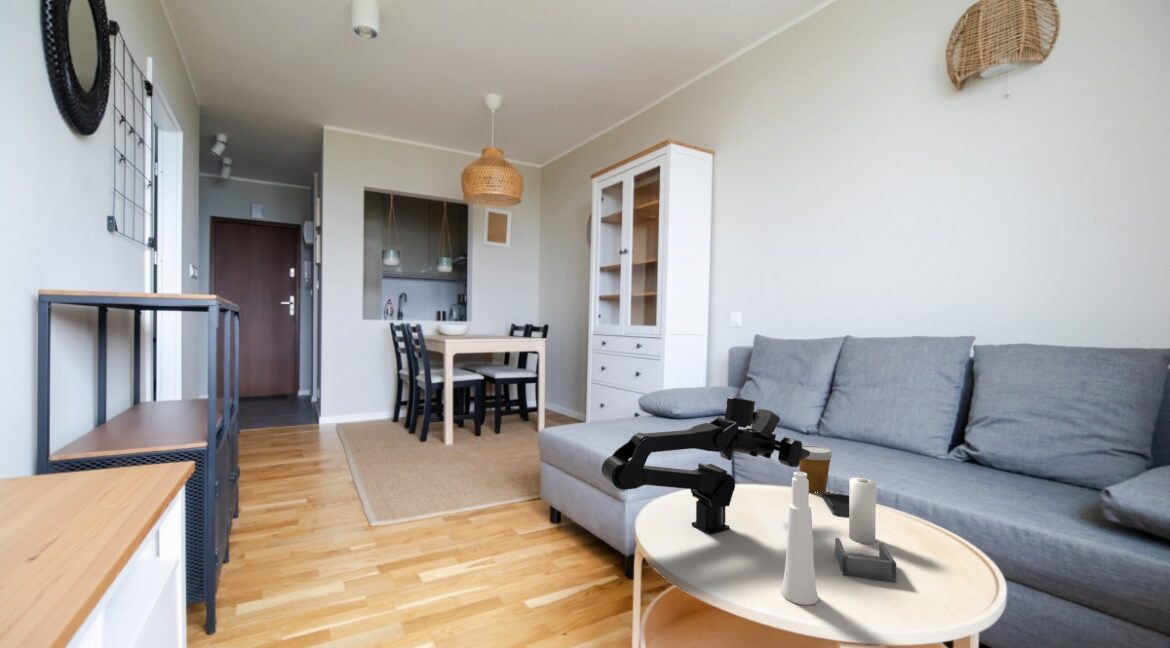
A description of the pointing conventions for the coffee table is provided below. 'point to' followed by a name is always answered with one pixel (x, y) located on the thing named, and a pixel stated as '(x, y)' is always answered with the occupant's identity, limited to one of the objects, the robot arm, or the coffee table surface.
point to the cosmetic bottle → (800, 546)
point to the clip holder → (866, 564)
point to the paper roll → (862, 510)
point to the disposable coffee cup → (816, 467)
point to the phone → (837, 504)
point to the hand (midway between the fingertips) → (795, 448)
